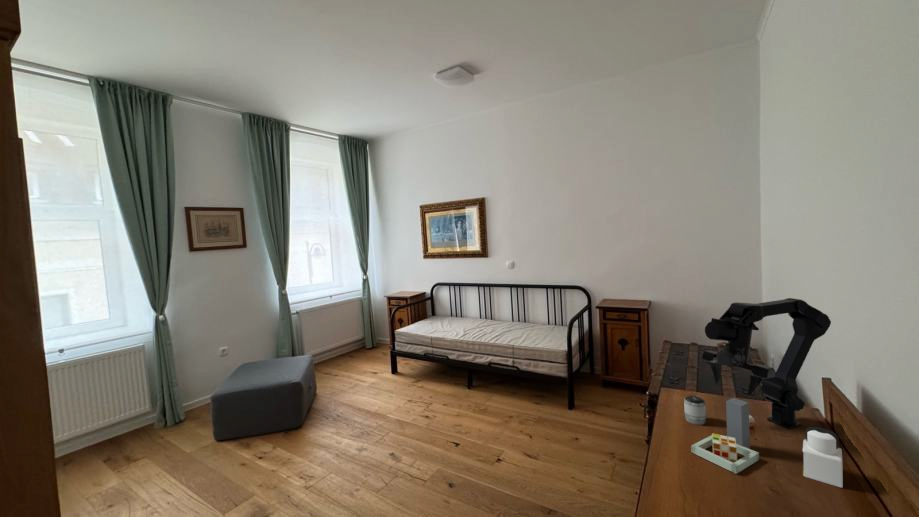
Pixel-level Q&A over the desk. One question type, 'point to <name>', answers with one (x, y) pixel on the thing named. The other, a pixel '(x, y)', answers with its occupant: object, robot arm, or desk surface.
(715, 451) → the rubik's cube
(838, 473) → the medicine bottle
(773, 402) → the robot arm
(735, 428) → the grey block with frame
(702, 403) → the camera lens
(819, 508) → the desk surface
